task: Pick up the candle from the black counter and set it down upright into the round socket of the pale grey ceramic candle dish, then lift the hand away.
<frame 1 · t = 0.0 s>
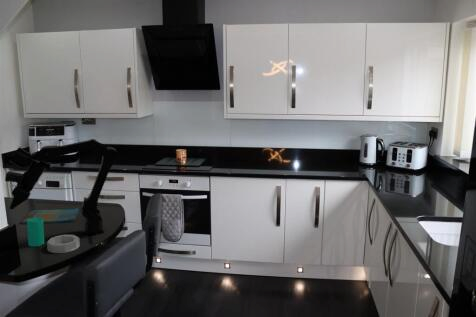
hand: (12, 205, 162), 15 cm above the table, tool tilted 35°, fingers open, 9 cm apart
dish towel: (52, 218, 193), on the table
candle: (36, 244, 162), on the table
candle dish: (63, 246, 159), on the table
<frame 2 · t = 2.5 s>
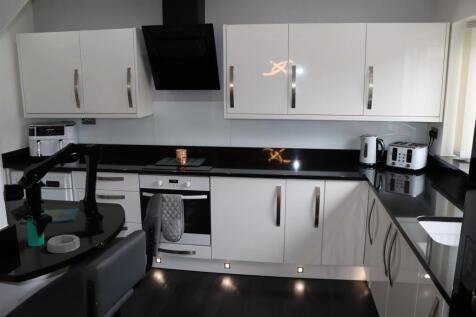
hand: (35, 235, 161), 4 cm above the table, tool pointing down, fingers closed on candle, 7 cm apart
candle: (36, 243, 162), on the table, touching gripper
everything else where it was.
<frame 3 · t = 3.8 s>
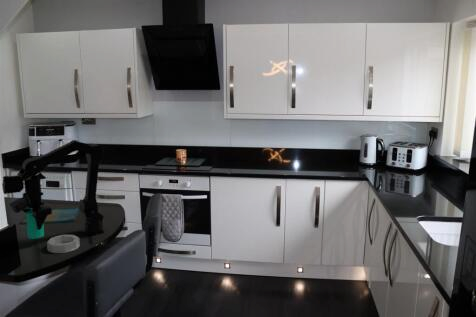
hand: (35, 227, 161), 7 cm above the table, tool pointing down, fingers closed on candle, 6 cm apart
candle: (36, 236, 161), point 3 cm above the table, touching gripper
everything else where it was.
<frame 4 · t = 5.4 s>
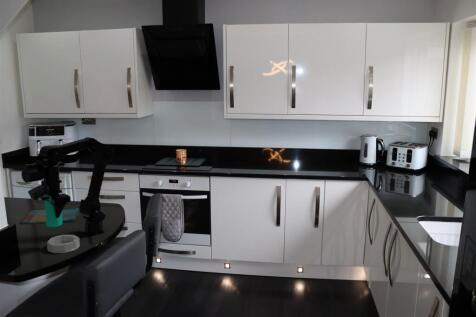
hand: (53, 215, 158), 13 cm above the table, tool pointing down, fingers closed on candle, 7 cm apart
candle: (54, 224, 159), point 9 cm above the table, touching gripper
everything else where it was.
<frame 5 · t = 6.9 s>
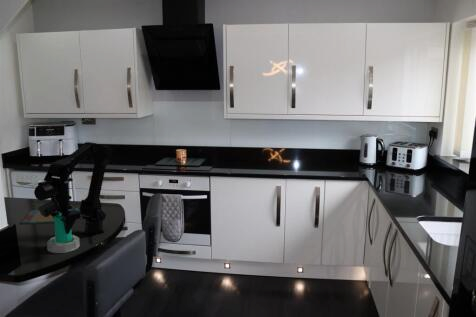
hand: (63, 231, 158), 7 cm above the table, tool pointing down, fingers closed on candle, 7 cm apart
candle: (63, 240, 159), point 3 cm above the table, touching gripper
everything else where it was.
when the fingers open (5 cm above the table, at t = 8.3 s): candle stays where it is, resting on candle dish.
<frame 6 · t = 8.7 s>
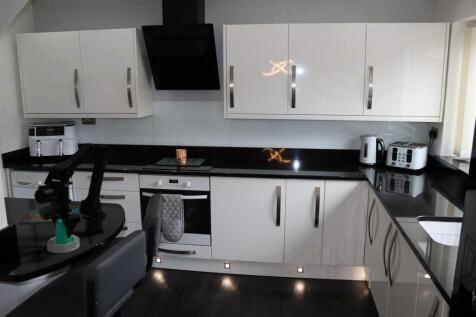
hand: (63, 234, 159), 5 cm above the table, tool pointing down, fingers open, 9 cm apart
candle: (63, 246, 159), resting on candle dish
everything else where it was.
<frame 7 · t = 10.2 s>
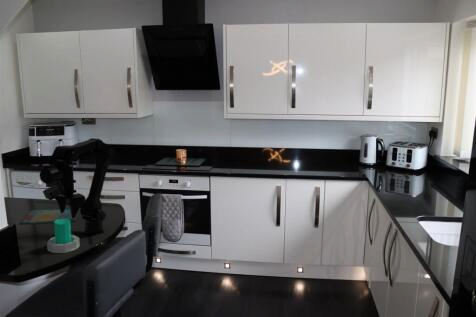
hand: (67, 215, 159), 13 cm above the table, tool pointing down, fingers open, 9 cm apart
nothing on the table moved.
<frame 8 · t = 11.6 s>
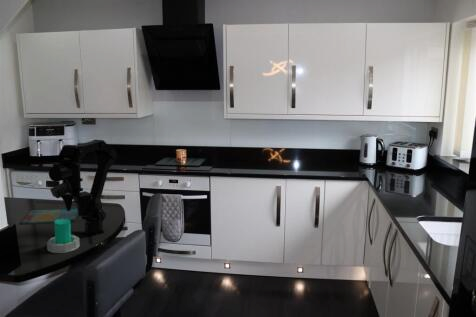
hand: (74, 213, 161), 13 cm above the table, tool pointing down, fingers open, 9 cm apart
nothing on the table moved.
at the end: candle 0.1 cm off-centre on the candle dish, point 0.3 cm above the candle dish's base; candle tilted 0°; the gripper is holding nothing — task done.
